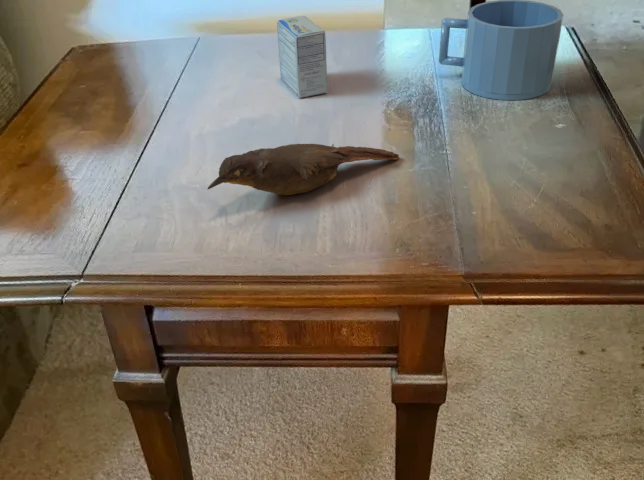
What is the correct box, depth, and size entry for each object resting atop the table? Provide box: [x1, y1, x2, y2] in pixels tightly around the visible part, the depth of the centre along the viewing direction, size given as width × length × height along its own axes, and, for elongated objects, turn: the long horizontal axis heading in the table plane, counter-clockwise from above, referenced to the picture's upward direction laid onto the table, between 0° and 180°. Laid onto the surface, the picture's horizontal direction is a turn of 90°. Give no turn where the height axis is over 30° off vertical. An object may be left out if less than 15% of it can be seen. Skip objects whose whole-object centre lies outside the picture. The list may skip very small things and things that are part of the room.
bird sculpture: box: [207, 143, 400, 196], centre depth 85 cm, size 7×25×5 cm, turn 122°
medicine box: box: [276, 15, 328, 99], centre depth 106 cm, size 8×4×9 cm, turn 20°
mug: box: [438, 0, 564, 101], centre depth 105 cm, size 16×12×10 cm
